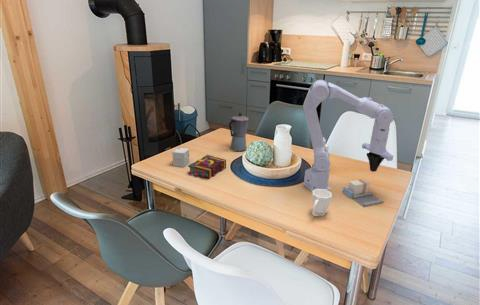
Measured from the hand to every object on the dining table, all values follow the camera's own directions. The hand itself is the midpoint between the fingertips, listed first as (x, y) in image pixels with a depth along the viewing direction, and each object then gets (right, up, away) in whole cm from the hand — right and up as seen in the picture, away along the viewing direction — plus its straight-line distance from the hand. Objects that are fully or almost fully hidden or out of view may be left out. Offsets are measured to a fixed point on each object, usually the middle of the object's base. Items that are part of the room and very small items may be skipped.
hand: (373, 170), depth 128 cm
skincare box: (-81, +1, +28) cm, 86 cm away
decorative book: (-68, -2, +21) cm, 71 cm away
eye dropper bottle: (-12, +3, +35) cm, 37 cm away
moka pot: (-54, +9, +47) cm, 72 cm away
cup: (-25, -15, -12) cm, 31 cm away
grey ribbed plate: (-4, -11, 0) cm, 12 cm away
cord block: (-5, -9, +2) cm, 11 cm away
